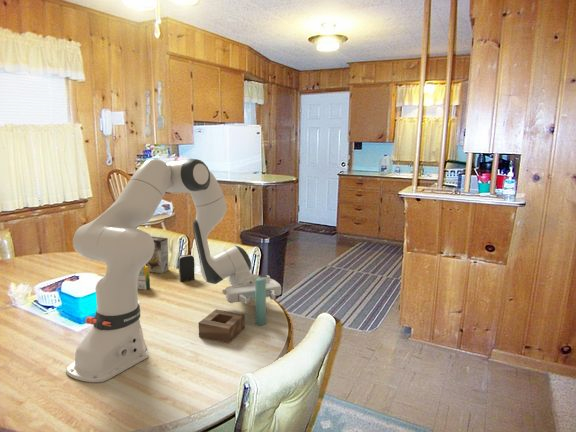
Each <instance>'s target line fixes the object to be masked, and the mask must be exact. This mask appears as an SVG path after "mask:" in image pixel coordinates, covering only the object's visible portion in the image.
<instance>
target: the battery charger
mask: <svg viewBox="0 0 576 432" xmlns="http://www.w3.org/2000/svg"><path fill="white" fill-rule="evenodd" d="M194 257H195V256H194V255H192V254H185V255H184V254H183V255H180V256H178V258H177V267H178V273H179V275H178V277H179V281H180V282H185V281H191V280H195V258H194Z"/></svg>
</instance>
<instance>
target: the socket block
mask: <svg viewBox="0 0 576 432" xmlns="http://www.w3.org/2000/svg"><path fill="white" fill-rule="evenodd" d="M245 321H246V320H245V314H244V313H240V312H233V311H228V310H221V309H218V308H217V309H214V310H213V311H212V312H211V313H209V314H208V315H207V316H205V317H204V318H203V319H201V320H200V321H198V337H199V338H201V339H202V338H203V339H206V340H207V339H208V340H212V341H217V342H221V343H227V344H230V343H231V342H232V341H233V340H234V339H235V338H236V337H237V336H238V335H239V334H240V333H241V332H242V331H243V330H244V329H245V325H246V324H245Z"/></svg>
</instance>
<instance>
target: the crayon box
mask: <svg viewBox="0 0 576 432" xmlns="http://www.w3.org/2000/svg"><path fill="white" fill-rule="evenodd" d="M150 288H151V282H150V272H149V266H146V265H144V266H143V267H142V269H141V271H140V273H139V276H138V282H137V290H138V289H139V290H144V291H147V290H148V289H150Z"/></svg>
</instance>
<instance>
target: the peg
mask: <svg viewBox="0 0 576 432" xmlns="http://www.w3.org/2000/svg"><path fill="white" fill-rule="evenodd" d="M254 300H255V301H254V302H255V303H254V304H255V307H254V308H255V309H254V310H255V312H254V313H255V319H254V320H255V325H257V326H264V325H266V323H267V321H266V319H267V309H266V307H267V304H266V303H267V297H266V279H265V278H257V279H255V299H254Z"/></svg>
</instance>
